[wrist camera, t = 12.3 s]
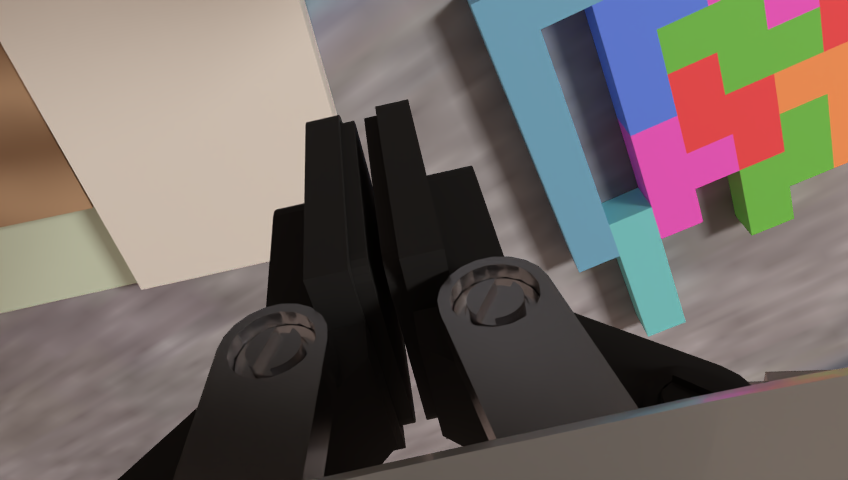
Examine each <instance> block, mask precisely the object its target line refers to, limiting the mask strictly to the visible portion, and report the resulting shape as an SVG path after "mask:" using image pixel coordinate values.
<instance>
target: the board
mask: <svg viewBox="0 0 848 480" xmlns="http://www.w3.org/2000/svg"><path fill="white" fill-rule="evenodd" d="M0 42H1V44H2V46H3V48H4V50H5V51H6V53H7V55H8V57H9V58H10V60H11V62H12V64H13V65H14V67H15V69H16V71H17V72H18V74H19V76H20V78H21V79H22V81H23V83H24V85H25V86H26V88H27V90H28V92H29V93H30V95H31V97H32V99H33V100H34V102H35V104H36V106H37V107H38V109H39V111H40V113H41V114H42V116H43V118H44V120H45V121H46V123H47V125H48V127H49V128H50V130H51V132H52V134H53V135H54V137H55V139H56V141H57V142H58V144H59V146H60V148H61V149H62V151H63V153H64V155H65V156H66V158H67V160H68V162H69V163H70V165H71V167H72V169H73V170H74V172H75V174H76V176H77V177H78V179H79V181H80V183H81V184H82V186H83V188H84V190H85V191H86V193H87V195H88V197H89V198H90V200H91V202H92V204H93V206H94V207H95V209H96V211H97V213H98V214H99V216H100V218H101V220H102V221H103V223H104V225H105V227H106V228H107V230H108V232H109V234H110V235H111V237H112V239H113V241H114V242H115V244H116V246H117V248H118V249H119V251H120V253H121V255H122V256H123V258H124V260H125V262H126V263H127V265H128V267H129V269H130V270H131V272H132V274H133V276H134V277H135V279H136V281H137V283H138V284H139V286H140V288H141V290H143V289H147V288H152V287H156V286H161V285H165V284H170V283H174V282H179V281H183V280H188V279H192V278H197V277H201V276H206V275H210V274H215V273H219V272H224V271H228V270H232V269H237V268H241V267H246V266H250V265H255V264H259V263H264V262H268V261H270V250H271V237H272V224H273V215H274V211H275V210H276V209H280V208H285V207H289V206H294V205H298V204H303V203H304V185H305V125H306V122H310V121H314V120H319V119H323V118H328V117H332V116H336V115H337V112H336V108H335V105H334V101H333V98H332V94H331V91H330V88H329V84H328V81H327V77H326V74H325V70H324V67H323V63H322V60H321V56H320V53H319V49H318V46H317V42H316V39H315V35H314V32H313V28H312V25H311V21H310V18H309V14H308V11H307V7H306V4H305V0H0Z"/></svg>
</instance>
